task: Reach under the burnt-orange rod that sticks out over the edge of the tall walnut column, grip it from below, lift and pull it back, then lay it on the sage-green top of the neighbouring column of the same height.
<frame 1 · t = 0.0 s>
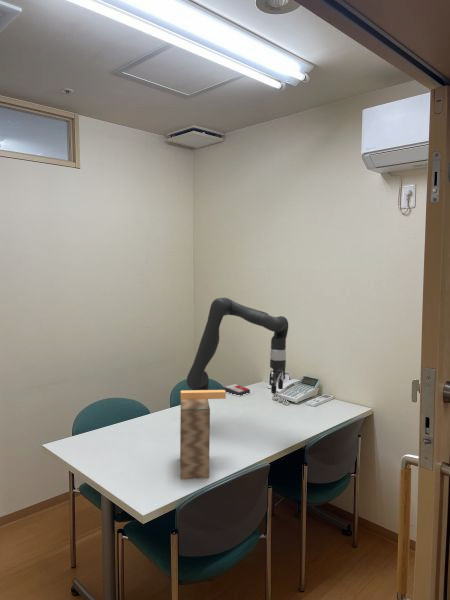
hand: (277, 391, 215), 29 cm above the table, tool pointing down, fingers open, 8 cm apart
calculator: (236, 393, 311), on the table
stand: (193, 467, 197), on the table
rod: (203, 397, 200), point 30 cm above the table, touching stand
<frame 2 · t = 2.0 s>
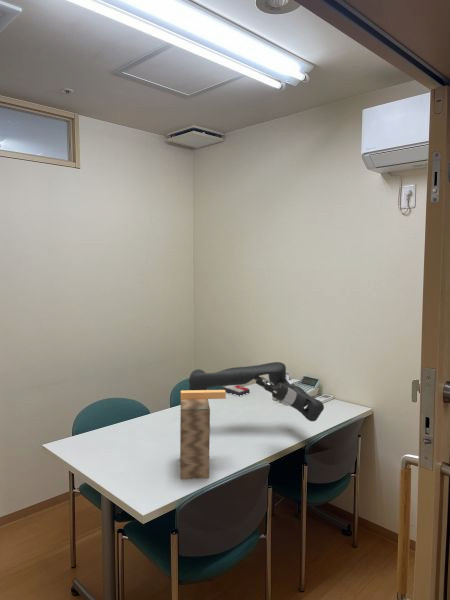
hand: (254, 378, 207), 37 cm above the table, tool pointing upward, fingers open, 8 cm apart
nothing on the table moved.
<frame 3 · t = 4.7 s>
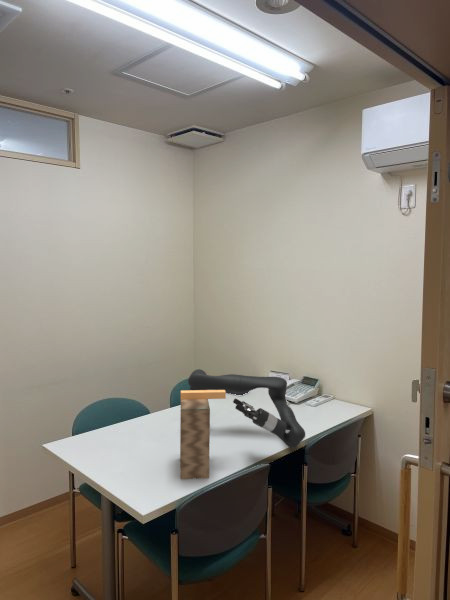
hand: (235, 403, 202), 27 cm above the table, tool pointing upward, fingers open, 8 cm apart
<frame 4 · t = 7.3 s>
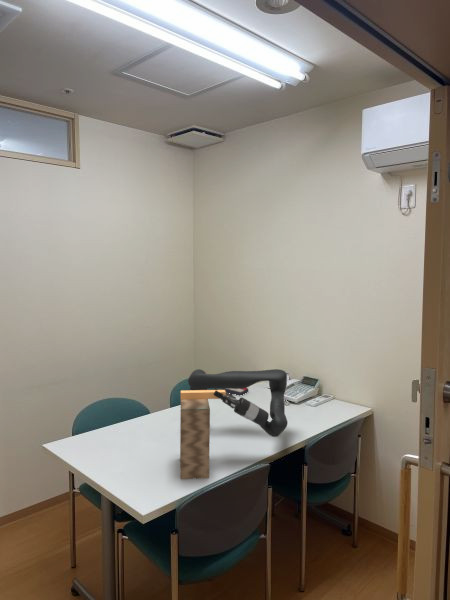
hand: (214, 391, 200), 33 cm above the table, tool pointing upward, fingers closed on rod, 3 cm apart
rod: (203, 397, 200), point 30 cm above the table, touching gripper, stand
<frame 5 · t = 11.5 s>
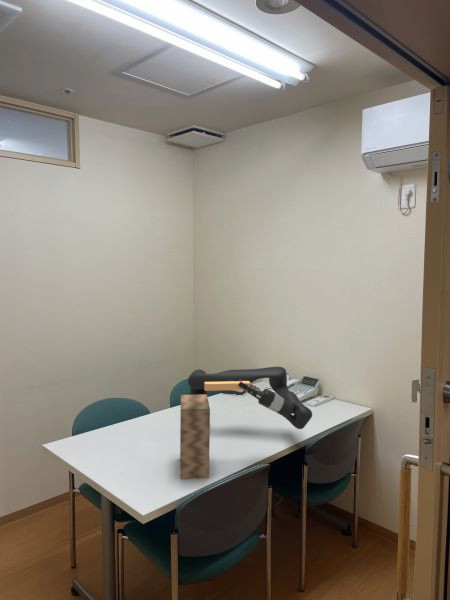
hand: (238, 382, 197), 38 cm above the table, tool pointing upward, fingers closed on rod, 3 cm apart
rod: (227, 389, 197), point 35 cm above the table, touching gripper
when the fingers open (34 cm above the table, at t = 15.6 s): rod stays where it is, resting on stand.
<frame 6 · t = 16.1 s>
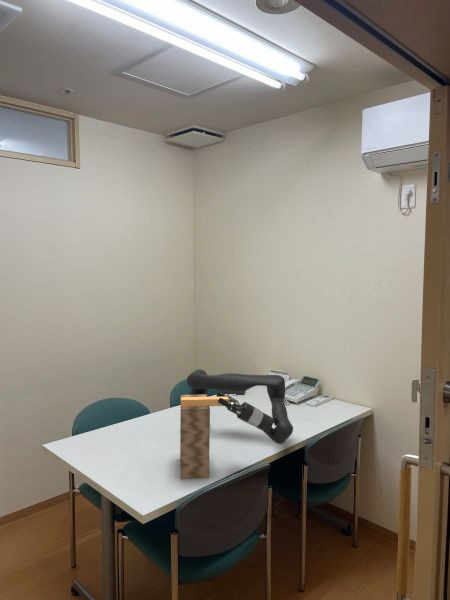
hand: (218, 396, 190), 34 cm above the table, tool pointing upward, fingers open, 8 cm apart
rod: (204, 405, 190), point 30 cm above the table, touching stand
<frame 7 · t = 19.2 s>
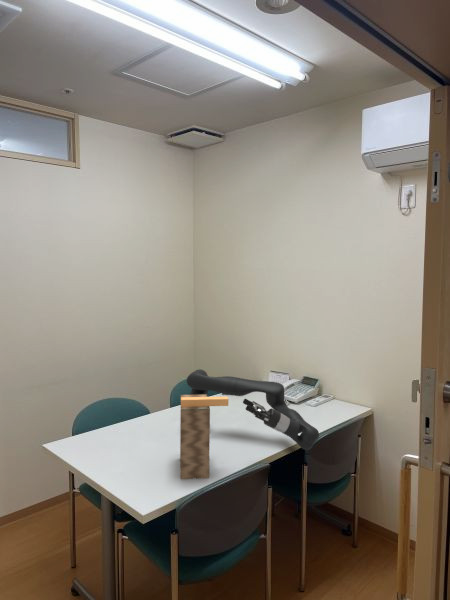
hand: (245, 403, 192), 30 cm above the table, tool pointing upward, fingers open, 8 cm apart
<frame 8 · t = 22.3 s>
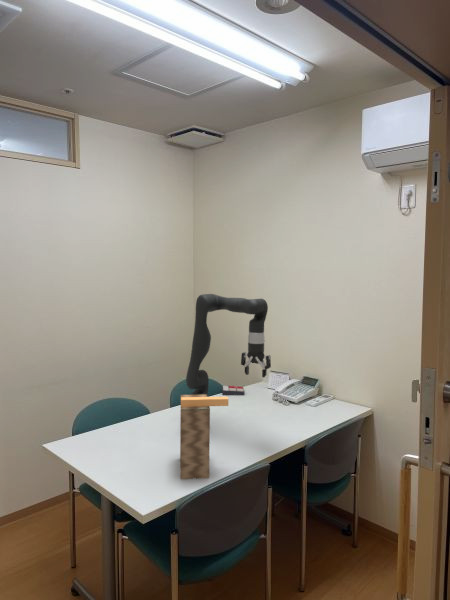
hand: (255, 375, 208), 38 cm above the table, tool pointing down, fingers open, 8 cm apart
at the end: rod 0.2 cm from the target spot on the stand, point 30.0 cm above the stand's base; the gripper is holding nothing; rod tilted 0° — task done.
